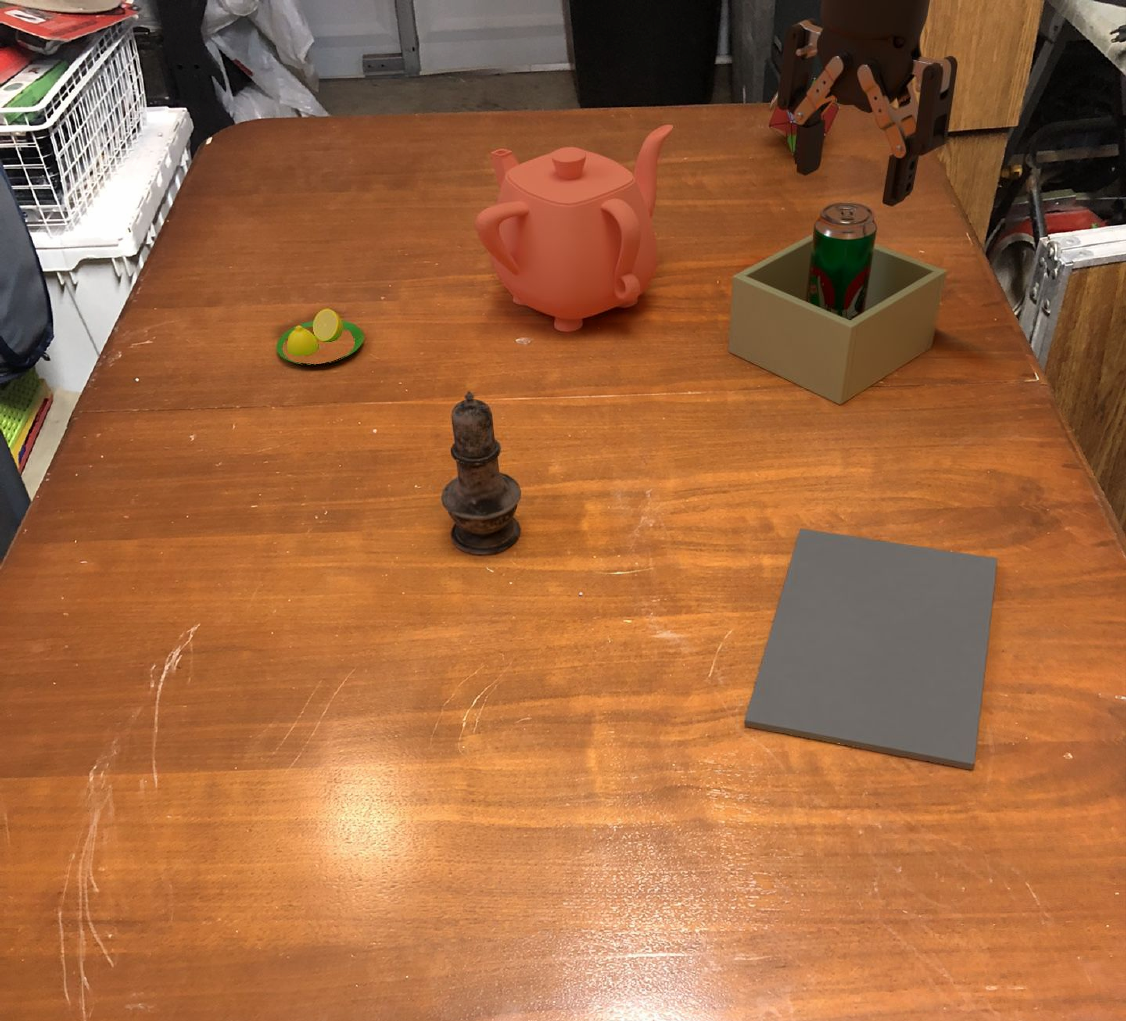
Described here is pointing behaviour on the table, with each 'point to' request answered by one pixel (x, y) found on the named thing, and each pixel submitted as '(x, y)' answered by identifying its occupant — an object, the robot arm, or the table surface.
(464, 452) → the salt shaker
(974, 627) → the mat
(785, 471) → the table surface
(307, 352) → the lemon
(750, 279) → the bin
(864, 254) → the soda can
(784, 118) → the geometric puzzle
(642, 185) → the teapot
